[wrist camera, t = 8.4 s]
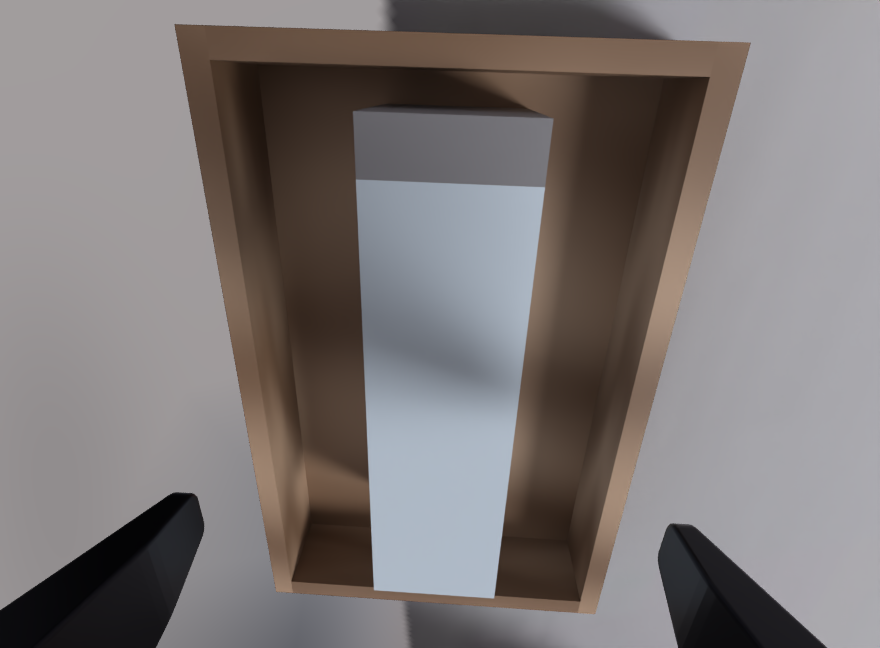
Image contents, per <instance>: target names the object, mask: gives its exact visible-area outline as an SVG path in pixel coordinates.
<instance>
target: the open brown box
mask: <svg viewBox="0 0 880 648" xmlns="http://www.w3.org/2000/svg"><path fill="white" fill-rule="evenodd" d="M175 30H176V35H177V41H178V46H179V52H180V58H181V63H182V69H183V74H184V80H185V85H186V91H187V97H188V102H189V107H190V113H191V119H192V125H193V130H194V136H195V141H196V147H197V152H198V158H199V163H200V169H201V175H202V180H203V186H204V192H205V197H206V203H207V208H208V214H209V219H210V225H211V231H212V236H213V242H214V247H215V253H216V259H217V264H218V270H219V275H220V281H221V287H222V292H223V298H224V303H225V309H226V314H227V319H228V326H229V331H230V337H231V342H232V348H233V354H234V359H235V365H236V370H237V376H238V381H239V387H240V392H241V398H242V404H243V409H244V415H245V420H246V426H247V432H248V437H249V443H250V448H251V454H252V460H253V465H254V470H255V476H256V481H257V487H258V493H259V498H260V504H261V510H262V515H263V521H264V526H265V532H266V537H267V543H268V548H269V554H270V560H271V566H272V571H273V576H274V582H275V588H276V592H287V593H301V594H302V593H303V594H316V595H331V596H345V597H359V598H373V599H387V600H402V601H416V602H430V603H444V604H458V605H473V606H487V607H501V608H515V609H530V610H544V611H558V612H572V613H587V614H595V612H596V609H597V605H598V601H599V598H600V594H601V590H602V587H603V583H604V579H605V576H606V572H607V568H608V565H609V561H610V557H611V554H612V550H613V546H614V543H615V539H616V535H617V532H618V528H619V524H620V521H621V517H622V513H623V510H624V506H625V502H626V499H627V495H628V491H629V488H630V484H631V480H632V477H633V473H634V469H635V466H636V462H637V458H638V455H639V451H640V447H641V444H642V440H643V436H644V433H645V429H646V425H647V422H648V418H649V414H650V411H651V407H652V403H653V400H654V396H655V392H656V389H657V385H658V381H659V378H660V374H661V370H662V367H663V363H664V359H665V356H666V352H667V348H668V345H669V341H670V337H671V334H672V330H673V326H674V323H675V319H676V315H677V312H678V308H679V304H680V301H681V297H682V293H683V290H684V286H685V282H686V279H687V275H688V271H689V268H690V264H691V260H692V257H693V253H694V249H695V246H696V242H697V238H698V235H699V231H700V227H701V223H702V220H703V216H704V212H705V209H706V205H707V201H708V198H709V194H710V190H711V187H712V183H713V179H714V176H715V172H716V168H717V165H718V161H719V157H720V154H721V150H722V146H723V143H724V139H725V135H726V132H727V128H728V124H729V121H730V117H731V113H732V110H733V106H734V102H735V99H736V95H737V91H738V88H739V84H740V80H741V77H742V73H743V69H744V66H745V62H746V58H747V55H748V51H749V47H750V44H751V43H744V42H713V41H681V40H650V39H619V38H588V37H556V36H525V35H494V34H462V33H431V32H400V31H368V30H336V29H334V30H333V29H306V28H304V29H303V28H274V27H243V26H211V25H179V24H175ZM382 104H413V105H440V106H468V107H496V108H523V109H531V110H533V111H536V112H538V113H541V114H543V115H546V116H548V117H551V118H554V119H553V127H552V135H551V143H550V151H549V159H548V168H547V176H546V184H545V192H544V200H543V208H542V216H541V224H540V232H539V240H538V248H537V256H536V264H535V272H534V280H533V289H532V297H531V305H530V313H529V321H528V329H527V337H526V345H525V353H524V361H523V369H522V377H521V385H520V393H519V401H518V410H517V418H516V426H515V434H514V442H513V450H512V458H511V466H510V474H509V482H508V490H507V498H506V506H505V514H504V523H503V531H502V539H501V547H500V555H499V563H498V571H497V579H496V587H495V595H494V598H480V597H465V596H451V595H436V594H422V593H407V592H393V591H379V590H374V579H373V557H372V534H371V511H370V489H369V466H368V443H367V420H366V398H365V375H364V352H363V330H362V307H361V284H360V262H359V239H358V216H357V194H356V171H355V148H354V125H353V111H356V110H360V109H364V108H369V107H373V106H378V105H382Z"/></svg>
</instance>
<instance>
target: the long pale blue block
mask: <svg viewBox="0 0 880 648" xmlns="http://www.w3.org/2000/svg"><path fill="white" fill-rule="evenodd" d="M553 119H554V118H551V117H548V116H546V115H543V114H541V113H538V112H536V111H533V110H531V109H523V108H496V107H468V106H440V105H413V104H382V105H378V106H373V107H369V108H364V109H360V110H356V111H353V125H354V148H355V171H356V194H357V216H358V239H359V262H360V284H361V307H362V330H363V352H364V375H365V398H366V420H367V443H368V466H369V489H370V511H371V534H372V557H373V579H374V590H379V591H393V592H407V593H422V594H436V595H451V596H465V597H480V598H494V595H495V587H496V579H497V571H498V563H499V555H500V547H501V539H502V531H503V523H504V514H505V506H506V498H507V490H508V482H509V474H510V466H511V458H512V450H513V442H514V434H515V426H516V418H517V410H518V401H519V393H520V385H521V377H522V369H523V361H524V353H525V345H526V337H527V329H528V321H529V313H530V305H531V297H532V289H533V280H534V272H535V264H536V256H537V248H538V240H539V232H540V224H541V216H542V208H543V200H544V192H545V184H546V176H547V168H548V159H549V151H550V143H551V135H552V127H553Z"/></svg>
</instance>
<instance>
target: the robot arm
mask: <svg viewBox="0 0 880 648" xmlns="http://www.w3.org/2000/svg"><path fill="white" fill-rule="evenodd" d="M203 532H204V521H203V517H202V513H201V509H200V505H199V501H198V498H197V496H196V495H195V494H192V493H179V492H176V493H172V494H170V495H168V496H167V497H165V498H164V499H163V500H161V501H160V502H158V503H157V504H155V505H154V506H152V507H151V508H149V509H148V510H146V511H145V512H143V513H142V514H141V515H139V516H138V517H136V518H135V519H133V520H132V521H130V522H129V523H127V524H126V525H124V526H123V527H122V528H120V529H119V530H117V531H116V532H114V533H113V534H111V535H110V536H108V537H107V538H105V539H104V540H103V541H101V542H100V543H98V544H97V545H95V546H94V547H92V548H91V549H89V550H88V551H86V552H85V553H83V554H82V555H81V556H79V557H78V558H76V559H75V560H73V561H72V562H70V563H69V564H67V565H66V566H64V567H63V568H61V569H60V570H59V571H57V572H56V573H54V574H53V575H51V576H50V577H49V578H47V579H45V580H44V581H42V582H41V583H39V584H38V585H37V586H35V587H34V588H32V589H31V590H29V591H28V592H26V593H25V594H23V595H22V596H20V597H19V598H18V599H16V600H15V601H13V602H12V603H10V604H9V605H7V606H6V607H4V608H3V609H1V610H0V648H156V646H157V644H158V642H159V640H160V638H161V636H162V634H163V632H164V630H165V628H166V626H167V624H168V622H169V620H170V617H171V615H172V613H173V611H174V608H175V606H176V603H177V601H178V598H179V596H180V593H181V590H182V588H183V585H184V583H185V579H186V578H187V575H188V572H189V570H190V567H191V565H192V562H193V560H194V557H195V554H196V552H197V549H198V547H199V544H200V541H201V539H202V536H203ZM658 565H659V569H660V574H661V578H662V582H663V586H664V591H665V595H666V599H667V603H668V607H669V612H670V616H671V620H672V624H673V629H674V633H675V637H676V641H677V645H678V648H827V647H826V646H825V645H824V644H823V643H821V642H820V641H819V640H818V639H817V638H816V637H815V636H814V635H813V634H812V633H811V632H809V631H808V630H807V629H806V628H805V627H804V626H803V625H802V624H801V623H800V622H799V621H797V620H796V619H795V618H794V617H793V616H792V615H791V614H790V613H789V612H788V611H786V610H785V609H784V608H783V607H782V606H781V605H780V604H779V603H778V602H777V601H776V600H774V599H773V598H772V597H771V596H770V595H769V594H768V593H767V592H766V591H765V590H764V589H762V588H761V587H760V586H759V585H758V584H757V583H756V582H755V581H754V580H753V579H752V578H750V577H749V576H748V575H747V574H746V573H745V572H744V571H743V570H742V569H741V568H739V567H738V566H737V565H736V564H735V563H734V562H733V561H732V560H731V559H730V558H729V557H727V556H726V555H725V554H724V553H723V552H722V551H721V550H720V549H719V548H718V547H717V546H715V545H714V544H713V543H712V542H711V541H710V540H709V539H708V538H707V537H706V536H704V535H703V534H702V533H701V532H700V531H699V530H698V529H697V528H696V527H694V526H692V525H689V524H674V523H673V524H670V525H669V526H668V527H667V529H666V532H665V535H664V538H663V541H662V544H661V547H660V550H659V553H658Z"/></svg>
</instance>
